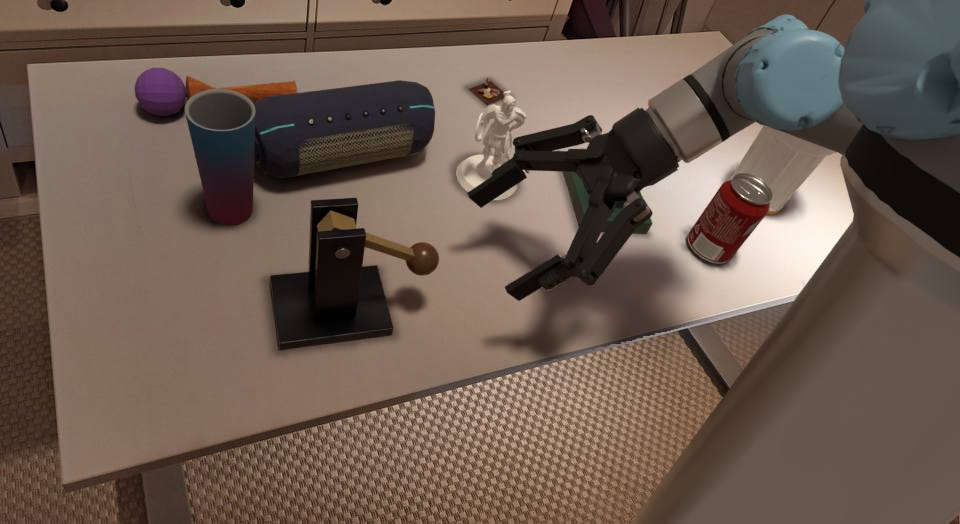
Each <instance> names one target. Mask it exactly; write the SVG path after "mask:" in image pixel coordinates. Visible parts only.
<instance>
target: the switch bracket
mask: <svg viewBox="0 0 960 524" xmlns="http://www.w3.org/2000/svg"><path fill="white" fill-rule="evenodd" d="M329 211H334V212H337V213H339V214H342V215H345V216H348V217H351V218H353V219H354V221H355V225H356V226H357V222H358V214H359V213H358V212H359V201H358V198H357V197H344V198H343V197H341V198H327V199H326V198H325V199H311V200H310V212H309V213H310V215H309V242H308V243H309V244H308V245H309V246H308V271H304V272H303V271H302V272H291V273H282V274H272V275H270V276H269V282H270V289H271V296H272V297H271V298H272V304H273V305H272V306H273V311H274V318H275V319H274V320H275V326H276V333H277V341H278V348H279V350H286V349H287V350H288V349H294V348H301V347H309V346H317V345H324V344H331V343H339V342H345V341H354V340H361V339H362V340H363V339H369V338H375V337H376V338H377V337H384V336H391V335H393V333H394V325H393V322H392V321H393V320H392V318H391V313H390V309H389V305H388V302H387V298H386V294H385V290H384V286H383V283H382V279H381V274H380V270H379V267H378V265H377V264H376V265H365V266H364V265H363V264H364V257H365V249H366V247H365V242H366V233H367V232H366V229H365V228H364V227H362V228H361V227H359V228H356V229H345V230H331V231H318V229H317V225H318V223H319V222H320V221H321V220H322V219H323V218H324V217H325V216H326V215H327V214H328V213H329Z"/></svg>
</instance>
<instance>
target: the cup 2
mask: <svg viewBox="0 0 960 524" xmlns="http://www.w3.org/2000/svg"><path fill="white" fill-rule="evenodd" d="M836 153H837V152H835V151H832V150H829V149H827V148H824V147H821V146H819V145H816V144H813V143H811V142H808V141H805V140H803V139H800V138H797V137H795V136H792V135H790V134H787V133H784V132H782V131H779V130H775V129H773V128H770V127H769V126H766V125H762V128H761V129H760V130H759V132H758V133H757V135H756V136H755V138H754V140H753V142H752V143H751V145H750V146H749V148H748V149H747V151H746V152H745V154H744V156H743V157H742V159H741V161H740V162H739V164H738V165H737V167H735V170H734V172H732V174H731V176H730V177H729V179H728V180H730V179H732V178H733V177H734V176H735V175H736V174H739V173H747V174H751V175H754V176H756V177H758V178H760V179H761V180H763V181H764V182H765V183H766V184H767V185H768V186H769V187H770V189H771V191H772V195H773V197H772V200H771V201H770V209H769V211H768V213H767V214H766V215H769V216H772V215H775V214H778V213H780V211H781V210H782V209H783V208H784V206H786V203H787V202H789V200H790V198H792V196H793V195H795V193H796V192H797V191H798V189H799V188H800V187H801V186H802V185H803V184H804V182H806V180H807V179H808V178H809V177H810V176H811V174H812V173H813V172H814V171H815V170H816V169H817V168H818V166H819V165H820V164H821V163H822V162H823V161H824V160H825V158H826V157H828V156H831V155H833V154H836Z"/></svg>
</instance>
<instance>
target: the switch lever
mask: <svg viewBox="0 0 960 524" xmlns="http://www.w3.org/2000/svg"><path fill="white" fill-rule="evenodd" d="M317 229H318V231H331V230H345V229H357V224H356V225H355V221H354V219H353V218H351V217H348V216H345V215H342V214H339V213H337V212H334V211H329V213H328V214H327V215H326V216H325V217H324V218H323V219H322V220H321V221H320V222H319V223H318V225H317ZM366 248H367V249H370V250H373V251H375V252H379V253H382V254H385V255H388V256H391V257H394V258H397V259H400V260H403V261H405V264H406V267H407V268H408V270H409V271H410V272H411V273H412V274H414V275H416V276H428V275H430V274H432V273H434V271H435V270H436V269H437V268H438V266H439V262H440V254H439V252H438V250H437V248H436V247H435V246H434V245H432V244H431V243H429V242H424V241H420V242H417V243H414V244H412V245H411V246H410V247H409V246H406V245H404V244H400V243H398V242H395V241H392V240H389V239H386V238H383V237H380V236H378V235H376V234H375V235H374V234H372V233H369V232H366V242H365V249H366Z"/></svg>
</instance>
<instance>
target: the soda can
mask: <svg viewBox="0 0 960 524" xmlns="http://www.w3.org/2000/svg"><path fill="white" fill-rule="evenodd" d="M729 179H730V178H729ZM729 179H727V180H725V181H723V182H722V183H721V185H720V187H718V189H717V191H716V192H715V194H714V195H713V196H712V198H711V200H710V201H709V202H708V204H707V205H706V207H705V208H704V210H703V211H702V213H701V214H700V216H699V217H698V219H697V220H696V222H695V223H694V225H693V226H692V228H691V229H690V230H689V232H688V234H687V241H688V245H689V247H690V248H691V250H692V251H693V252H694V253H695V254H696V255H697V256H699V258H701V259H703V260H705V261H707V262H709V263H712V264H725V263H728V262H730V261H731V260H732V258H733V257H734V256H735V255H736V254H737V252H738V251H739V250H740V248H741V247H742V246H743V245H744V244H745V242H746V241H747V240H748V238H749V237H750V236H751V234H753V232H754V231H755V229H756V228H757V227H758V226H759V225H760V223H761V222H762V221H763V220H764V218H765V217H766V215H767V213H768V211H769V209H770V201H771V200H772V197H773V195H772V191H771V189H770V187H769V186H768V185H767V184H766V183H765V182H764V181H763V180H761V179H760V178H758V177H756V176H754V175H751V174H747V173H739V174H736V175H735V176H734V177H733V178H732V179H730V180H729Z"/></svg>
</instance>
